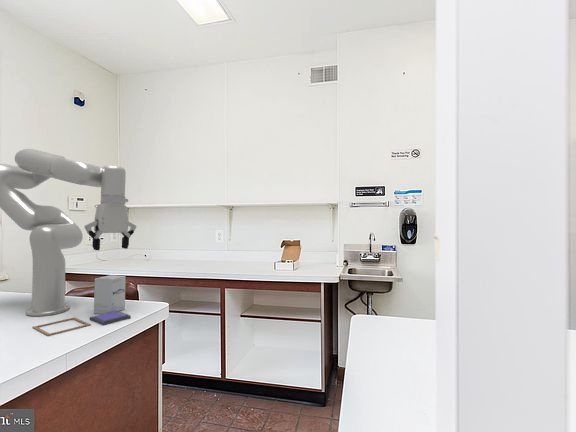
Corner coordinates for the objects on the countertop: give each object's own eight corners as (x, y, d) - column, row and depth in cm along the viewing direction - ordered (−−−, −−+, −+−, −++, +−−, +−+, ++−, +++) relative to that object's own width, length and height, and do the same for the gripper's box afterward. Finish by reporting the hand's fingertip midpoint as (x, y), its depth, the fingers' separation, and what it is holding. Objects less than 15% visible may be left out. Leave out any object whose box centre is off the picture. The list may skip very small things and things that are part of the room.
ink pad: (89, 320, 105) (89, 316, 105) (116, 313, 113) (116, 310, 113) (103, 325, 100) (103, 321, 100) (130, 318, 108) (130, 314, 108)
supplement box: (110, 315, 111) (111, 279, 111) (93, 313, 113) (93, 278, 113) (125, 309, 118) (126, 275, 119) (108, 307, 120) (109, 274, 120)
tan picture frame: (32, 328, 97) (32, 326, 97) (74, 318, 107) (74, 317, 107) (47, 336, 91) (47, 334, 91) (90, 325, 100) (90, 324, 100)
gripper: (131, 202, 121) (129, 246, 121) (81, 199, 107) (79, 249, 107) (141, 202, 117) (140, 248, 117) (91, 199, 103) (89, 251, 103)
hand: (111, 249), depth 112 cm, fingers open, 9 cm apart
